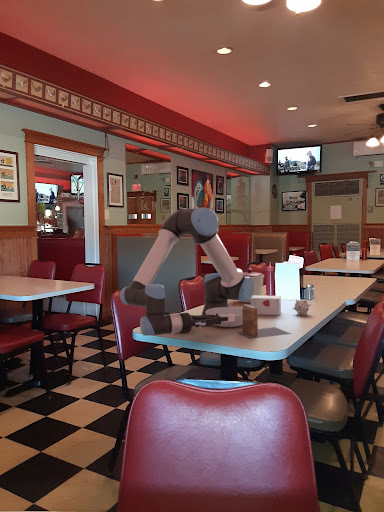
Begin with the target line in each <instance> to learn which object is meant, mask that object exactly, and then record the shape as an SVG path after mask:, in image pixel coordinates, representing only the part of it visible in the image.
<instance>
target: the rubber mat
mask: <svg viewBox="0 0 384 512" xmlns="http://www.w3.org/2000/svg"><path fill="white" fill-rule="evenodd" d="M235 333H236V334H237V335H240V336H242V337H244V338H246V339H248V340H251V339H259V338H260V339H261V338H268V337H276V336H283V335H284V336H285V335H292V333H291V332H288V331H285V330H284V329H281V328H278V327H276V326H275V327H266V328H265V327H264V328H258V336H257V337H252V336H250V335H248V334H246V333H244V332H243V330H238V331H235Z"/></svg>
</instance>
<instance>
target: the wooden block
mask: <svg viewBox="0 0 384 512" xmlns="http://www.w3.org/2000/svg"><path fill="white" fill-rule="evenodd" d="M241 308H242V313H243V325H242V331H243V332H244V333H246V334H248V335H250V336H252V337H257V336H258V329H259V326H258V324H259V323H258V322H259V319H258V316H259V315H258V308H257V307H254V306H251V304H249V303H246V304H245V303H243V304H242V306H241Z"/></svg>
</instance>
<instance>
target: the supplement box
mask: <svg viewBox="0 0 384 512" xmlns="http://www.w3.org/2000/svg"><path fill="white" fill-rule="evenodd" d="M281 301H282V300H281V295H262V296H260V295H253V296H252V297H251V303H250V305H251V306H254V307H257V308H258V316H260V315H261V316H262V315H264V316H280V315H281V312H282V309H281V308H282V307H281V306H282V305H281V304H282V303H281Z"/></svg>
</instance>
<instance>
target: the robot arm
mask: <svg viewBox="0 0 384 512" xmlns="http://www.w3.org/2000/svg"><path fill="white" fill-rule="evenodd" d="M218 222H219V218H218V216H217V213H215V211H214V210H212V209H211V208H208V207H196V208H183V209H178V210H176V211H174V212H173V213H172V214H170V215H169V216H168V218H167V219H166V220H165V221H164V222H163V224H162V225H161V226H160V228H159V230H158V236H157V238H156V239H155V241H154V243H153V245H152V247H151V248H150V250H149V252H148V254H147V255H146V256H145V259H144V260H143V262H142V264H141V265H140V267H139V269H138V272H137V273H136V274H135V276H134V278H132V279H133V280H132V281H131V283H130V285H128V286H124V287H123V288H122V289H121V290H120V292H119V298H120V301H121V302H122V304H124V305H127V306H130V307H139V308H144V309H145V315H144V316H141V317H140V319H139V320H140V321H139V326H140V333H141V334H142V335H143V336H146V337H148V336H150V337H151V336H153V337H155V336H159V335H160V336H161V335H168V334H171V335H175V334H177V333H187V332H188V333H189V332H191V331H192V328H193V327H194V328H199V327H201V328H205V327H210V326H216V325H217V324H220V325H221V322H230V321H235V315H234V314H227V315H219V316H218V314H217V313H216V315H214V314H213V315H206V313H205V311H206V310H208V309H211V308H218V307H230V306H229V303H228V302H229V301H228V300H230V301H235V302H236V301H237V302H238V301H239V302H241V301H248V300H249V299H250V298H251V297H252V295H253V292H254V281H253V279H252V278H251V277H246V276H245V275H244V274H243V273H244V271H243V270H242V269H240V268H237V266H236V264H235V262H234V261H233V260H232V258H231V256H230V255H229V253H228V251H227V249H226V248H225V245H224V244H223V242H222V241H221V239H220V237H219V235H218V231H219V224H220V223H218ZM184 236H187V237H189V236H190V237H191V238H192V241H193V242H194V243H195V245H196V244H197V245H200V246H201V248H202V249H203V251H204V253H205V255H206V256H207V257H208V259H209V261H210V262H211V264H212V266H213V267H214V269H215V270H216V273H209V274H208V273H207V274H206V275H205V276H204V278H203V279H204V280H203V281H204V282H203V291H204V304H203V308H202V312H201V314H200V315H199V314H196V315H193V314H190V313H189V312H180V314H179V312H177V313H175V314H174V313H168V314H166V293H165V292H166V291H165V286H164V285H163V284H159V283H154V281H155V279H156V277H157V275H158V273H159V272H160V270H161V268H162V266H163V264H164V263H165V261H166V259H167V258H168V256H169V253H170V252H171V250H172V248H173V246H174V245H175V244H177V243H178V242H179V241H180V239H181V238H182V237H184ZM190 315H191V316H190ZM192 326H193V327H192ZM180 331H181V332H180Z"/></svg>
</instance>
